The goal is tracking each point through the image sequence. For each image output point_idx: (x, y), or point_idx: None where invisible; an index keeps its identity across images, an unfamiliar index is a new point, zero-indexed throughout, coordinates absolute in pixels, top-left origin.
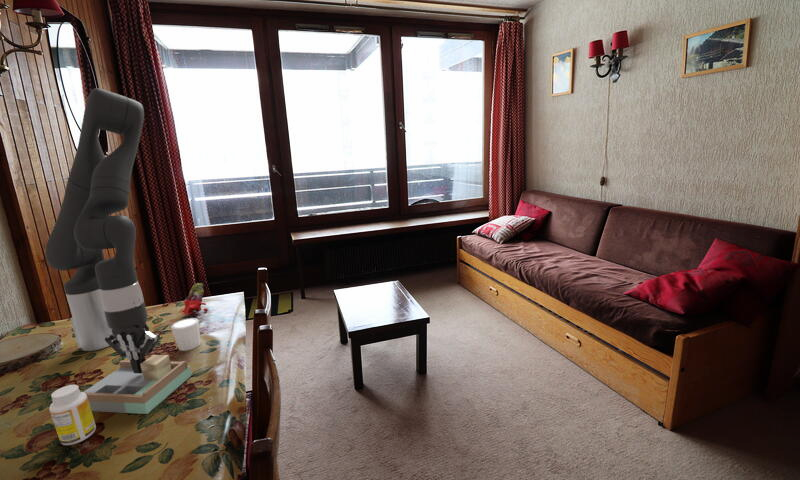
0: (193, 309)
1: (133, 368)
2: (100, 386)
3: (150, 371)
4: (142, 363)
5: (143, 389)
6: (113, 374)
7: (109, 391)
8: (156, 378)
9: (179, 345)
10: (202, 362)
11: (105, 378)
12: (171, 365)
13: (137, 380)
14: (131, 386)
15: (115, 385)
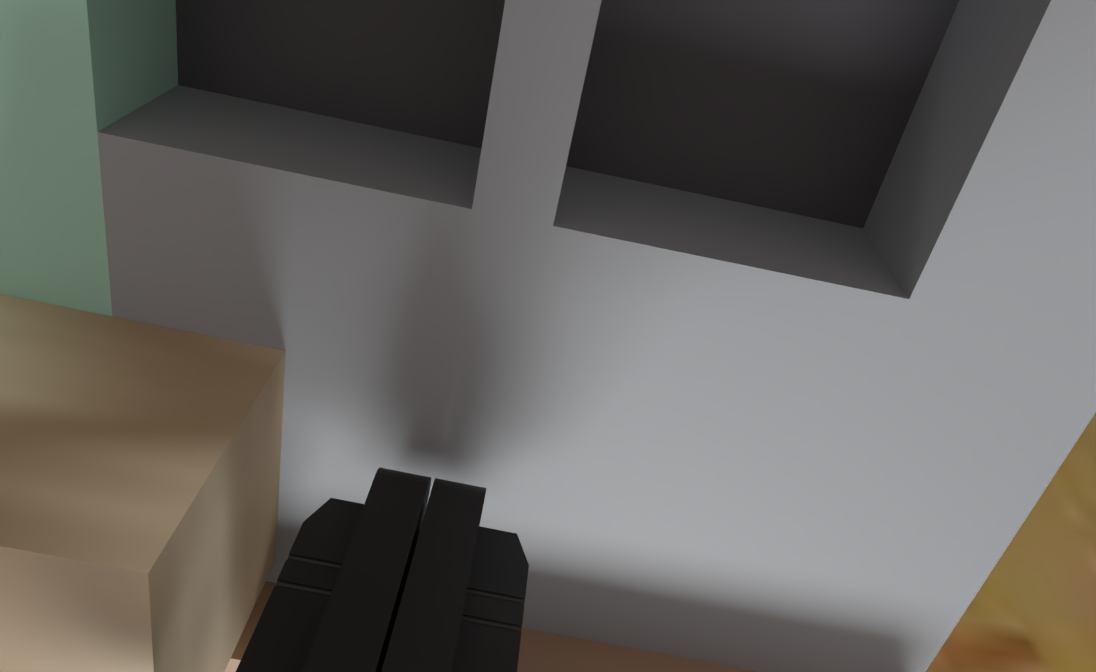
0: None
1: (456, 551)
2: (989, 272)
3: (22, 413)
4: (119, 588)
5: (27, 34)
6: (923, 560)
7: (833, 235)
8: (20, 318)
9: None
10: None
11: (1009, 483)
12: None
13: (388, 344)
14: (374, 186)
15: (705, 257)
